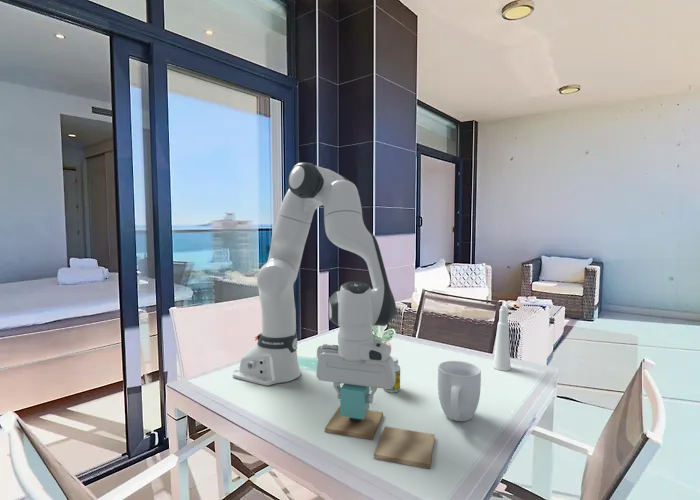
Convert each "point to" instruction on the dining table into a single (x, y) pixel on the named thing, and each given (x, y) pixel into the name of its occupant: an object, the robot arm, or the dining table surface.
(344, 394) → the teal rectangular block
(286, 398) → the dining table surface
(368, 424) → the post stand
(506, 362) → the cosmetic bottle
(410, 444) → the oak pad
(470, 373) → the mug
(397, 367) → the supplement bottle
